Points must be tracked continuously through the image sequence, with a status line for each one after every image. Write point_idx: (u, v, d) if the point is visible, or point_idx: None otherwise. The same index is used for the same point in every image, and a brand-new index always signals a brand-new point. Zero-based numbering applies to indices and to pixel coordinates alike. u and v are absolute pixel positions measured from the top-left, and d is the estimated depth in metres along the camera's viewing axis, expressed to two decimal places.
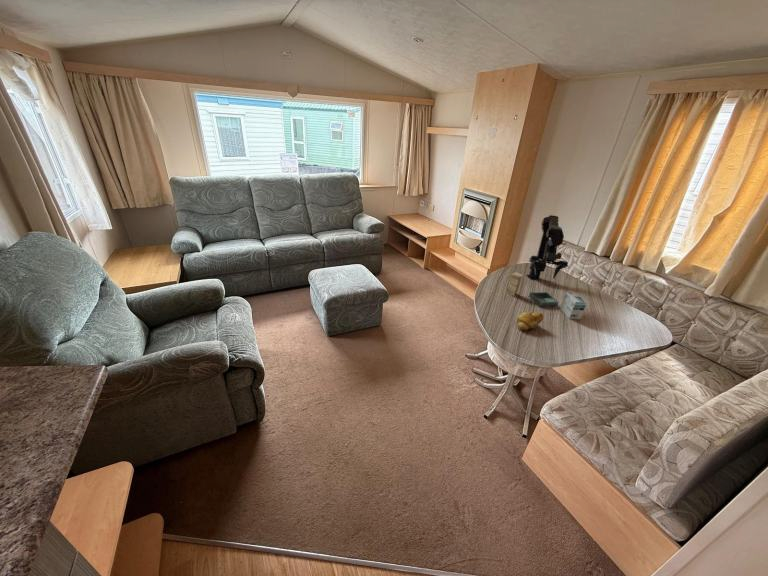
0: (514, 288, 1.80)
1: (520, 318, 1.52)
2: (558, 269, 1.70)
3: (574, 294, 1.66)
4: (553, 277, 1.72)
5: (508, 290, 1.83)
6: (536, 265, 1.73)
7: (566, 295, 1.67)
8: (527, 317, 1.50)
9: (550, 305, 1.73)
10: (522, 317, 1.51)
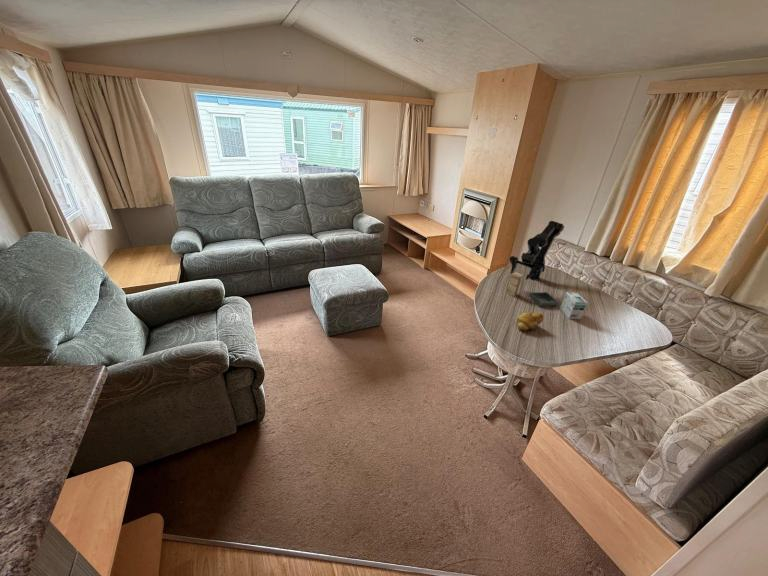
0: (514, 288, 1.80)
1: (520, 318, 1.52)
2: (532, 271, 1.78)
3: (574, 294, 1.66)
4: (526, 278, 1.79)
5: (508, 290, 1.83)
6: (513, 264, 1.85)
7: (566, 295, 1.67)
8: (527, 317, 1.50)
9: (550, 305, 1.73)
10: (522, 317, 1.51)
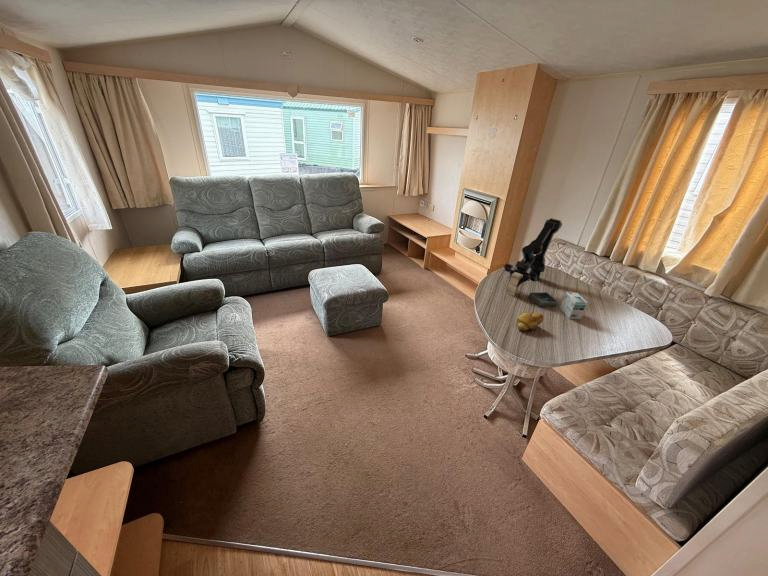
0: (514, 288, 1.80)
1: (520, 318, 1.52)
2: (523, 278, 1.78)
3: (574, 294, 1.66)
4: (517, 285, 1.79)
5: (508, 290, 1.83)
6: (511, 274, 1.82)
7: (566, 295, 1.67)
8: (527, 318, 1.50)
9: (550, 305, 1.73)
10: (522, 317, 1.51)
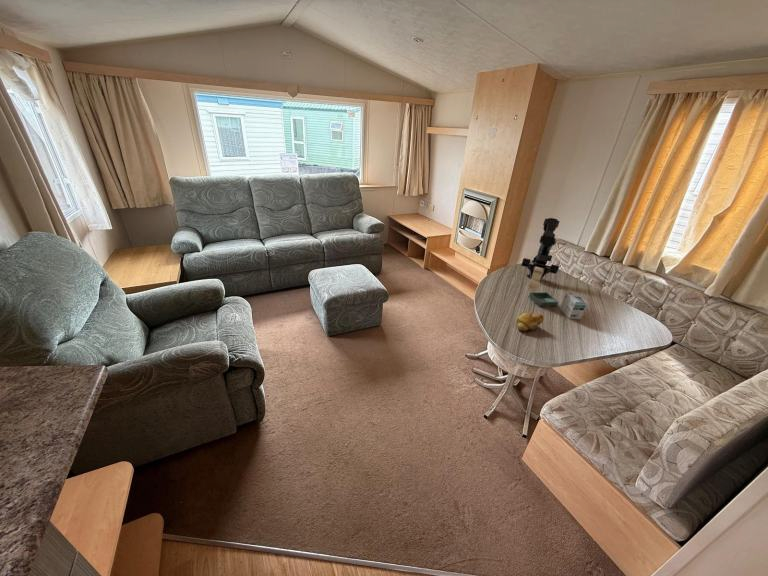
0: (537, 283, 1.72)
1: (520, 319, 1.51)
2: (545, 271, 1.71)
3: (574, 294, 1.66)
4: (540, 279, 1.72)
5: (530, 286, 1.74)
6: (531, 268, 1.74)
7: (566, 295, 1.67)
8: (527, 318, 1.50)
9: (550, 305, 1.73)
10: (522, 318, 1.51)
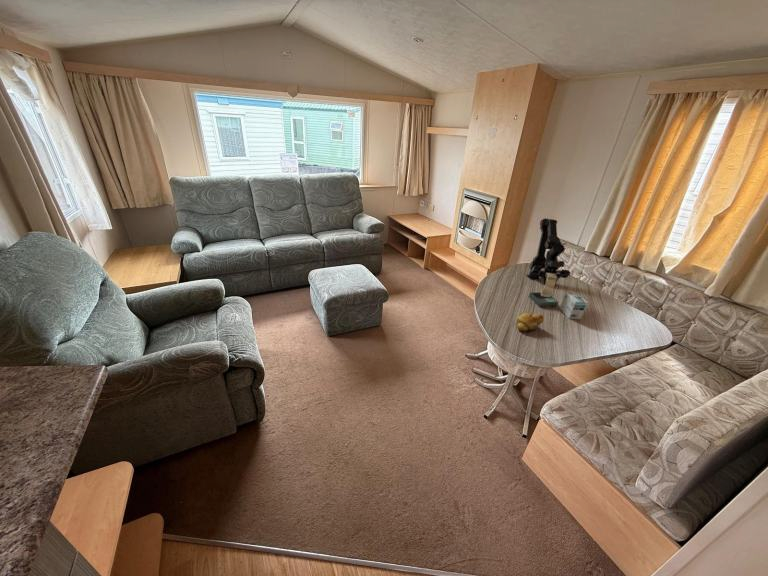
0: (551, 289, 1.72)
1: (519, 319, 1.51)
2: (557, 277, 1.71)
3: (574, 294, 1.66)
4: None
5: (544, 292, 1.73)
6: (544, 275, 1.72)
7: (566, 295, 1.67)
8: (526, 318, 1.49)
9: (550, 305, 1.73)
10: (521, 318, 1.51)
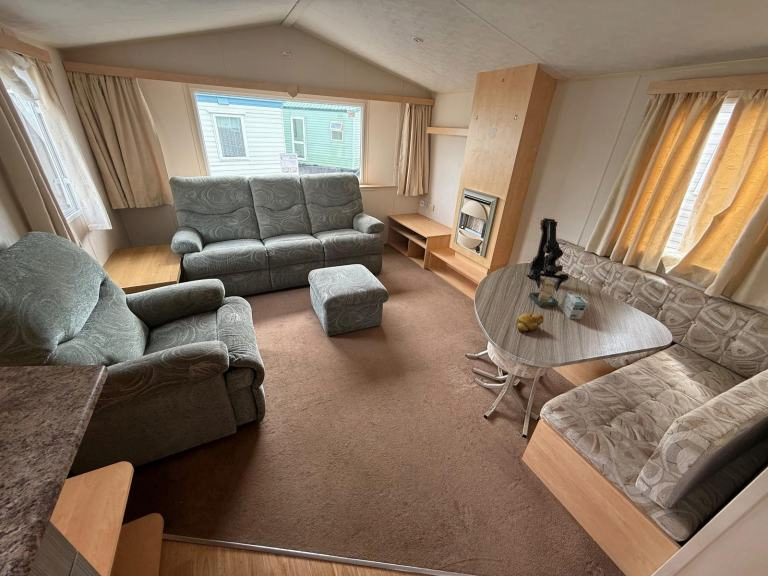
0: (549, 296, 1.74)
1: (519, 319, 1.51)
2: (560, 282, 1.72)
3: (574, 294, 1.66)
4: (556, 290, 1.72)
5: (542, 299, 1.75)
6: (538, 278, 1.74)
7: (566, 295, 1.67)
8: (526, 318, 1.49)
9: (550, 305, 1.73)
10: (521, 318, 1.51)
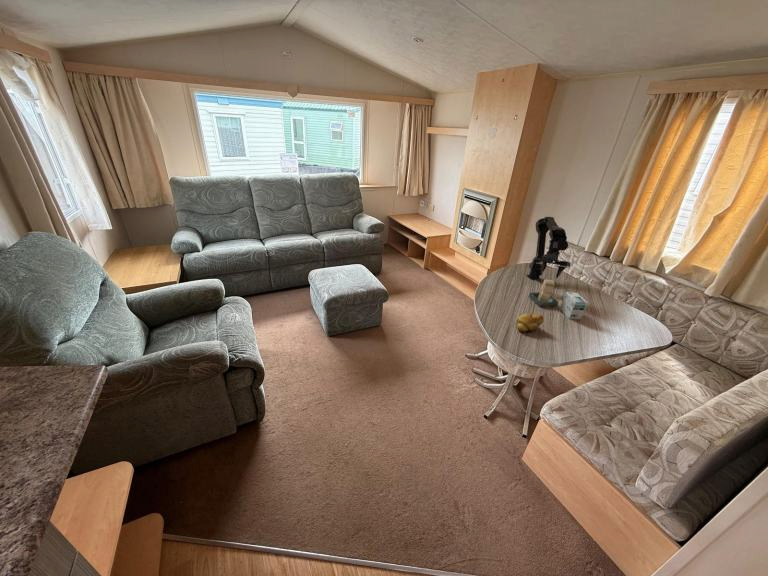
0: (549, 296, 1.74)
1: (519, 319, 1.51)
2: (559, 269, 1.76)
3: (574, 294, 1.66)
4: None
5: (542, 299, 1.75)
6: (539, 266, 1.85)
7: (566, 295, 1.67)
8: (526, 318, 1.49)
9: (550, 305, 1.73)
10: (521, 318, 1.50)
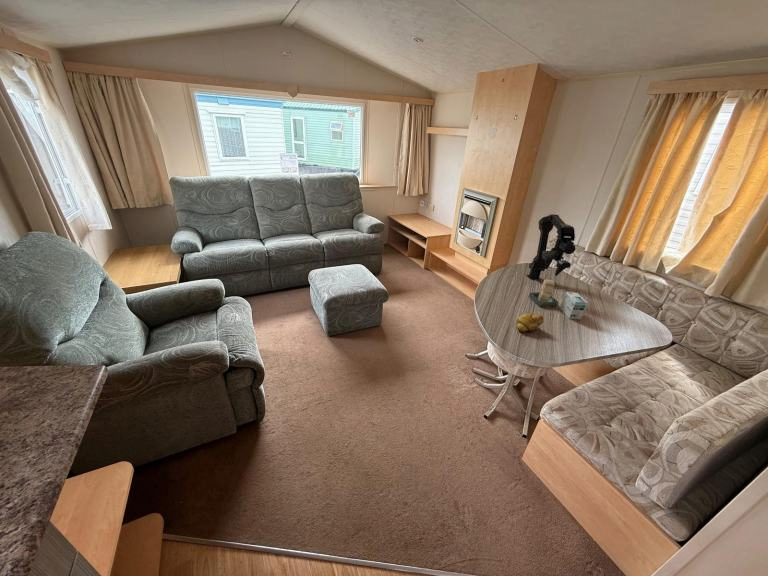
0: (549, 296, 1.74)
1: (519, 319, 1.51)
2: (557, 268, 1.76)
3: (574, 294, 1.66)
4: None
5: (542, 299, 1.75)
6: (545, 260, 1.86)
7: (566, 295, 1.67)
8: (526, 319, 1.49)
9: (550, 305, 1.73)
10: (521, 318, 1.50)
